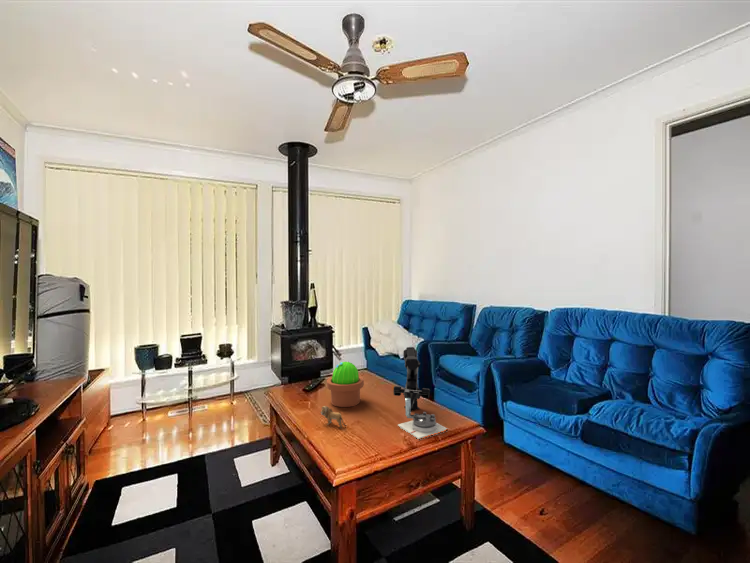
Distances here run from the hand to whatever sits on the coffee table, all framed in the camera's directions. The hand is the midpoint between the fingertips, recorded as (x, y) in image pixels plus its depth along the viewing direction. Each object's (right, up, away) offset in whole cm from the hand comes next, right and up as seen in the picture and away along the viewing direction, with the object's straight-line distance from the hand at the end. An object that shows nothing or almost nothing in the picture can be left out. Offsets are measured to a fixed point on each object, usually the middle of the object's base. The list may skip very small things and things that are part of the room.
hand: (410, 407), depth 178 cm
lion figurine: (-40, -10, +3) cm, 41 cm away
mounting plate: (+6, -9, -3) cm, 11 cm away
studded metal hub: (+5, -6, -3) cm, 8 cm away
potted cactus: (-36, -9, +34) cm, 50 cm away
